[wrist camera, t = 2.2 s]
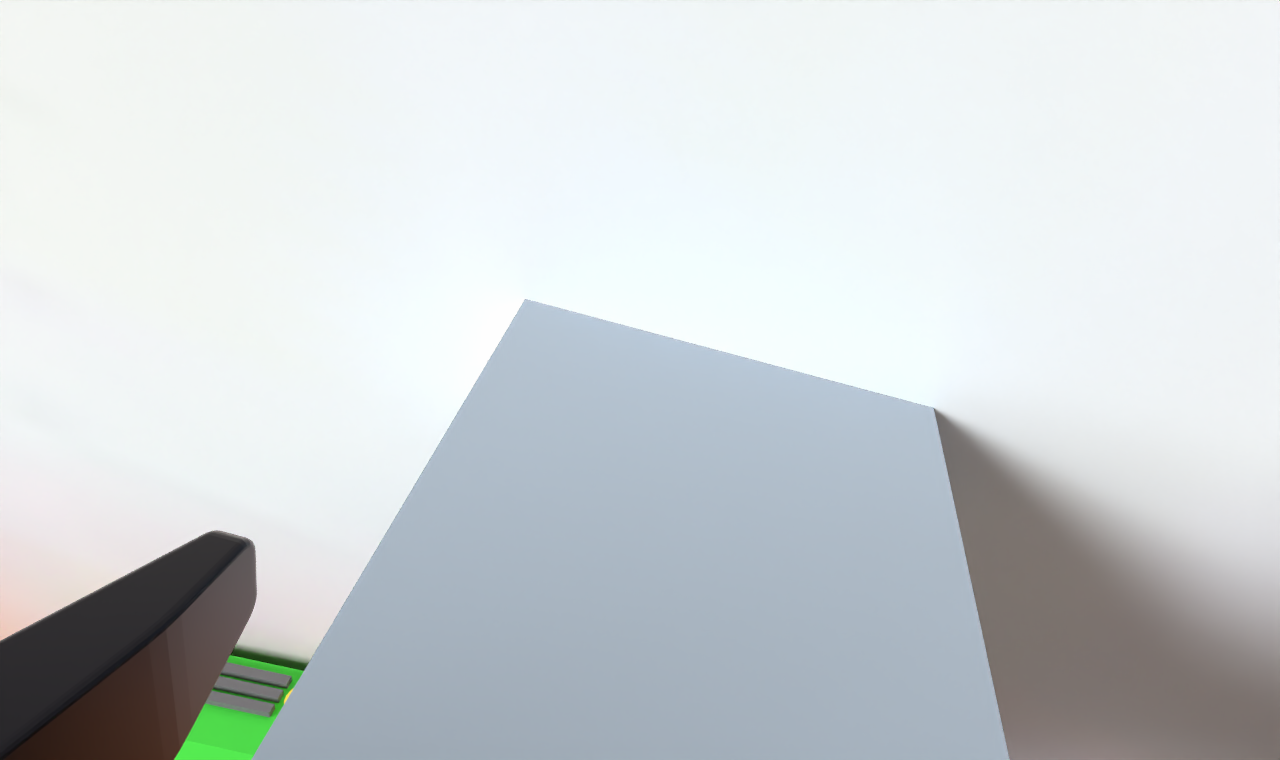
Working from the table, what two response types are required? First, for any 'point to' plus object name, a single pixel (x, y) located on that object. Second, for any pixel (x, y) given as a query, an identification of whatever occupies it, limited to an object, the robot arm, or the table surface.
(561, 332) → the tile
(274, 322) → the table surface
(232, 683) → the toy car
